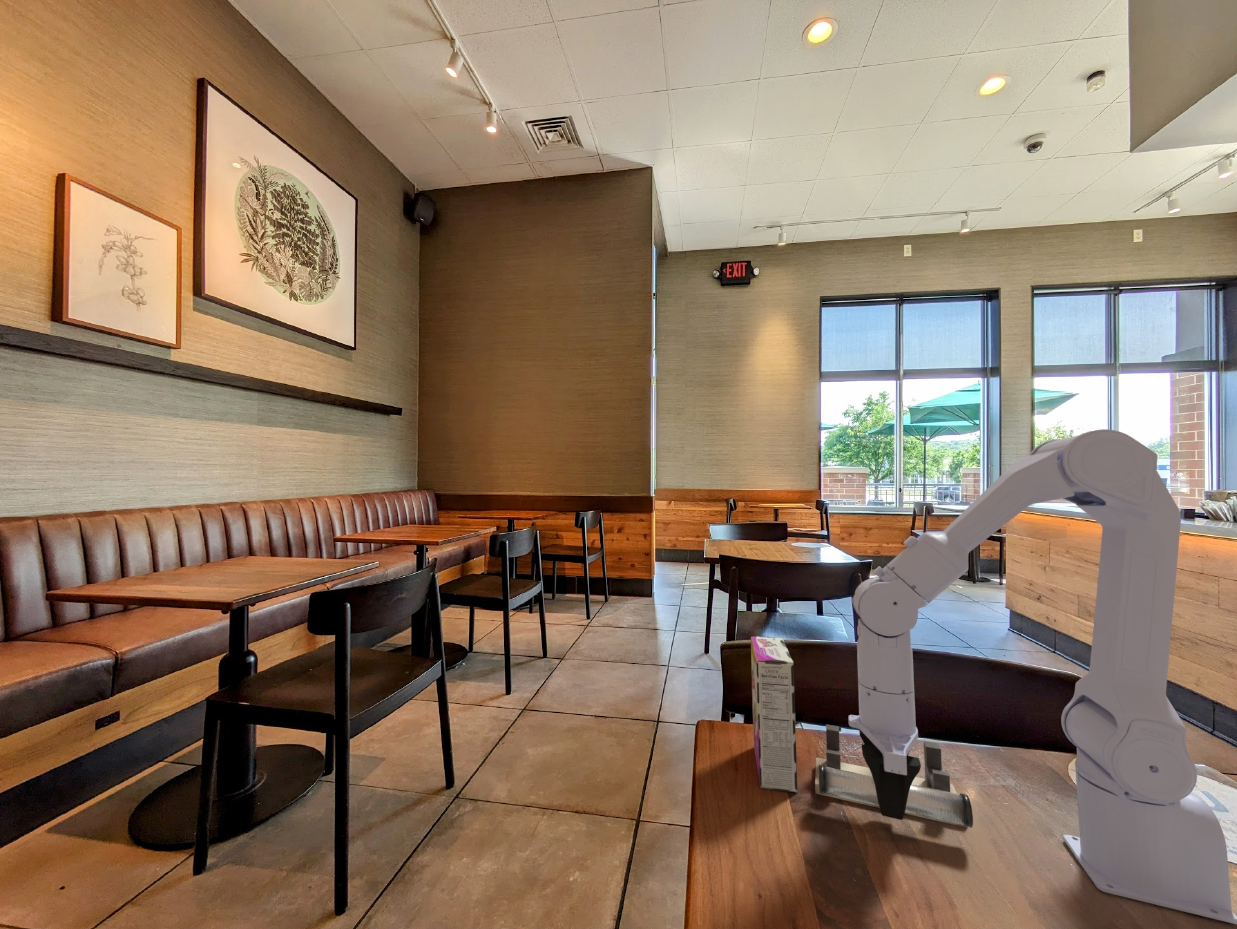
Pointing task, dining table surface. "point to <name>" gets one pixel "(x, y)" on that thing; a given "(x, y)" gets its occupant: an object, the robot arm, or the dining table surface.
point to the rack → (932, 774)
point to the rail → (918, 800)
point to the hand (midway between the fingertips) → (889, 807)
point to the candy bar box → (774, 714)
